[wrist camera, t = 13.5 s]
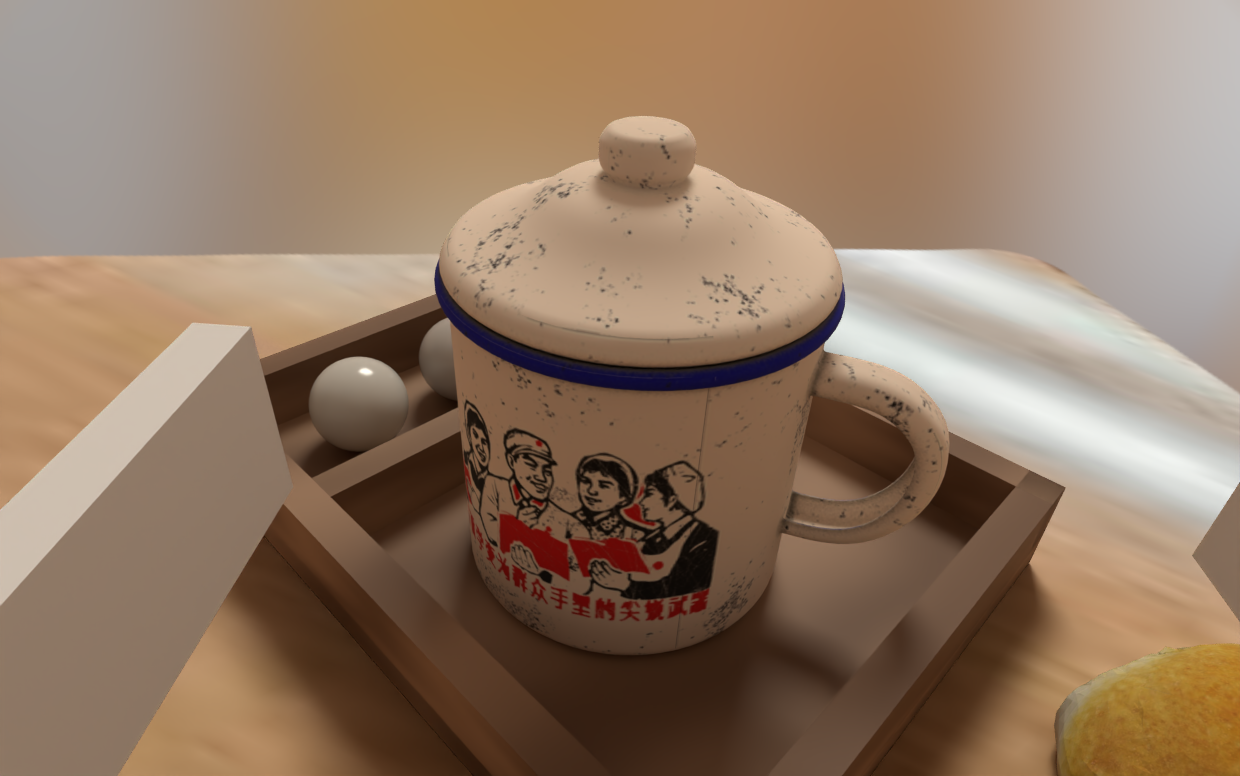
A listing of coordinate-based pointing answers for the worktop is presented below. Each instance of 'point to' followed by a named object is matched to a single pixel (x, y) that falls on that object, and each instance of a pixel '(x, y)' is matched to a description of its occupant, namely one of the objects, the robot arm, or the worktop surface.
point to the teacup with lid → (653, 394)
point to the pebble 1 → (358, 404)
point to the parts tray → (654, 683)
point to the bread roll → (1156, 717)
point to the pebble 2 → (439, 360)
